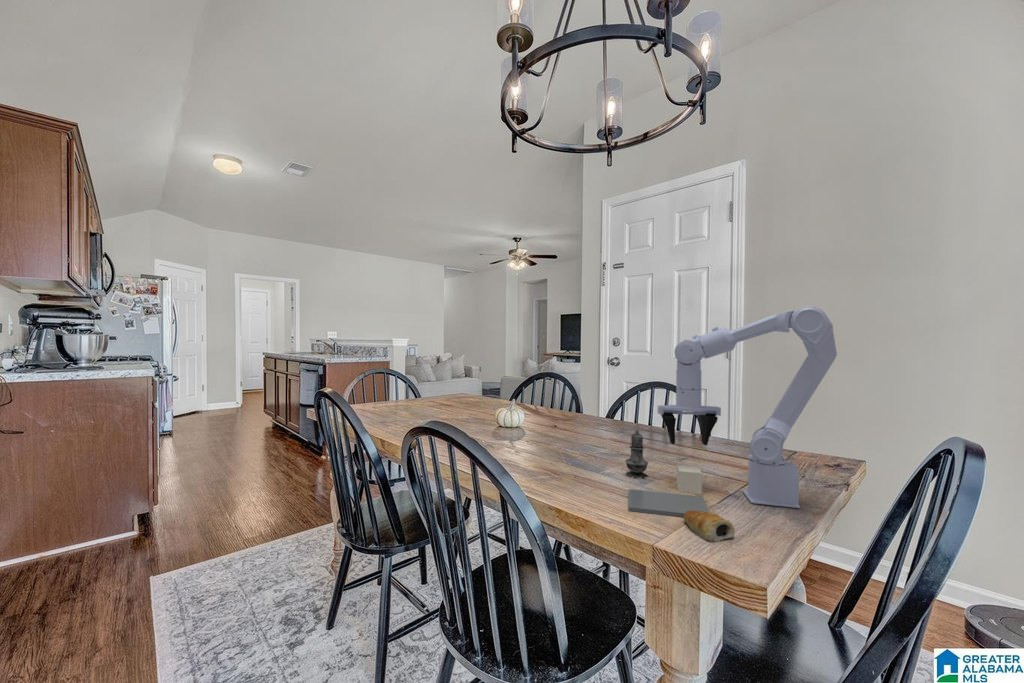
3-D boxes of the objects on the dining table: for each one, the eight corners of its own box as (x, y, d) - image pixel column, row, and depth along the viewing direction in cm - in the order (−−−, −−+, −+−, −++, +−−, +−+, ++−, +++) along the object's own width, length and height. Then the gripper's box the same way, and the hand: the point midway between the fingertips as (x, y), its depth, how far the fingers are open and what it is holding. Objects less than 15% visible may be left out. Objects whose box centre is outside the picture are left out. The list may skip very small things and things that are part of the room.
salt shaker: (649, 479, 109) (650, 433, 109) (625, 478, 110) (626, 431, 110) (646, 472, 115) (647, 428, 114) (624, 471, 116) (624, 427, 116)
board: (702, 499, 96) (702, 496, 96) (711, 520, 85) (711, 516, 85) (628, 492, 100) (628, 489, 100) (628, 510, 89) (628, 507, 89)
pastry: (674, 522, 84) (674, 503, 84) (701, 518, 86) (702, 500, 86) (709, 544, 75) (710, 523, 75) (739, 539, 78) (740, 519, 77)
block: (698, 487, 104) (698, 466, 104) (701, 494, 99) (702, 473, 99) (676, 485, 105) (676, 465, 105) (678, 492, 101) (679, 471, 101)
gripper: (713, 387, 108) (713, 440, 108) (654, 386, 110) (654, 438, 110) (724, 390, 101) (723, 447, 101) (661, 389, 103) (661, 445, 103)
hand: (688, 443), depth 105 cm, fingers open, 7 cm apart
